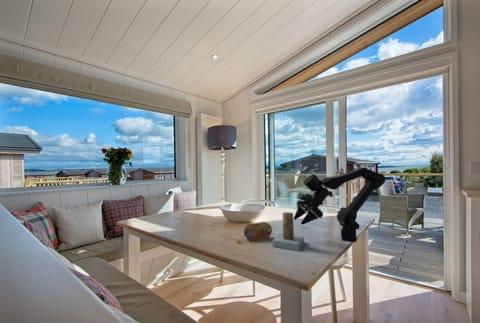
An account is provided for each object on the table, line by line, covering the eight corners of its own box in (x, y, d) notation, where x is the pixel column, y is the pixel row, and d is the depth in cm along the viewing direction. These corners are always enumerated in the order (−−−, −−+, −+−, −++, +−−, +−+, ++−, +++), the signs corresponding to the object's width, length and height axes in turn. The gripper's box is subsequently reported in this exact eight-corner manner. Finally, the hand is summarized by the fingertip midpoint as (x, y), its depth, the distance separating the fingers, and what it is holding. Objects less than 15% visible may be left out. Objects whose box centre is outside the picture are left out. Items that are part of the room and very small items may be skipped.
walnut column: (292, 236, 115) (292, 212, 115) (294, 239, 110) (293, 214, 110) (282, 236, 115) (282, 212, 115) (283, 239, 110) (283, 214, 110)
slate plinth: (303, 242, 115) (303, 236, 115) (297, 250, 104) (297, 243, 104) (280, 238, 121) (280, 233, 121) (272, 246, 110) (272, 240, 110)
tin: (245, 241, 119) (244, 224, 119) (243, 239, 122) (242, 223, 122) (272, 238, 123) (271, 222, 123) (269, 236, 126) (269, 220, 126)
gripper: (299, 184, 123) (280, 207, 122) (315, 188, 105) (293, 214, 103) (313, 198, 124) (294, 220, 123) (332, 205, 106) (310, 231, 104)
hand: (297, 221), depth 113 cm, fingers open, 9 cm apart
